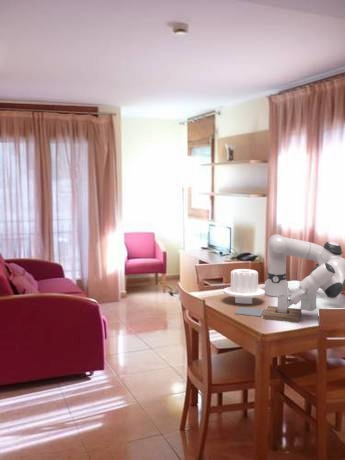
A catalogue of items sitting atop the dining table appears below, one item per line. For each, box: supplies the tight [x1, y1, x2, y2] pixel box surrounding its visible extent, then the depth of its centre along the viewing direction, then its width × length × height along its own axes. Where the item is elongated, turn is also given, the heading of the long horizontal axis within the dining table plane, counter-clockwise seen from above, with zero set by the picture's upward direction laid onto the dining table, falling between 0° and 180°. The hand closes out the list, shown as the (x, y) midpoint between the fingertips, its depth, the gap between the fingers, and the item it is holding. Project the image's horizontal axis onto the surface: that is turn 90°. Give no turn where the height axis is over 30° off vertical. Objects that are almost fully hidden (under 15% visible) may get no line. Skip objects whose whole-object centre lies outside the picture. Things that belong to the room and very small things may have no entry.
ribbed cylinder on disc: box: [223, 268, 266, 305], centre depth 266 cm, size 25×25×19 cm
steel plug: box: [277, 295, 289, 314], centre depth 236 cm, size 5×5×11 cm
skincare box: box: [300, 290, 318, 312], centre depth 251 cm, size 8×6×15 cm
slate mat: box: [234, 306, 266, 318], centre depth 244 cm, size 14×14×1 cm
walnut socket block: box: [262, 305, 302, 324], centre depth 236 cm, size 18×18×2 cm
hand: (288, 303), depth 234 cm, fingers open, 8 cm apart
